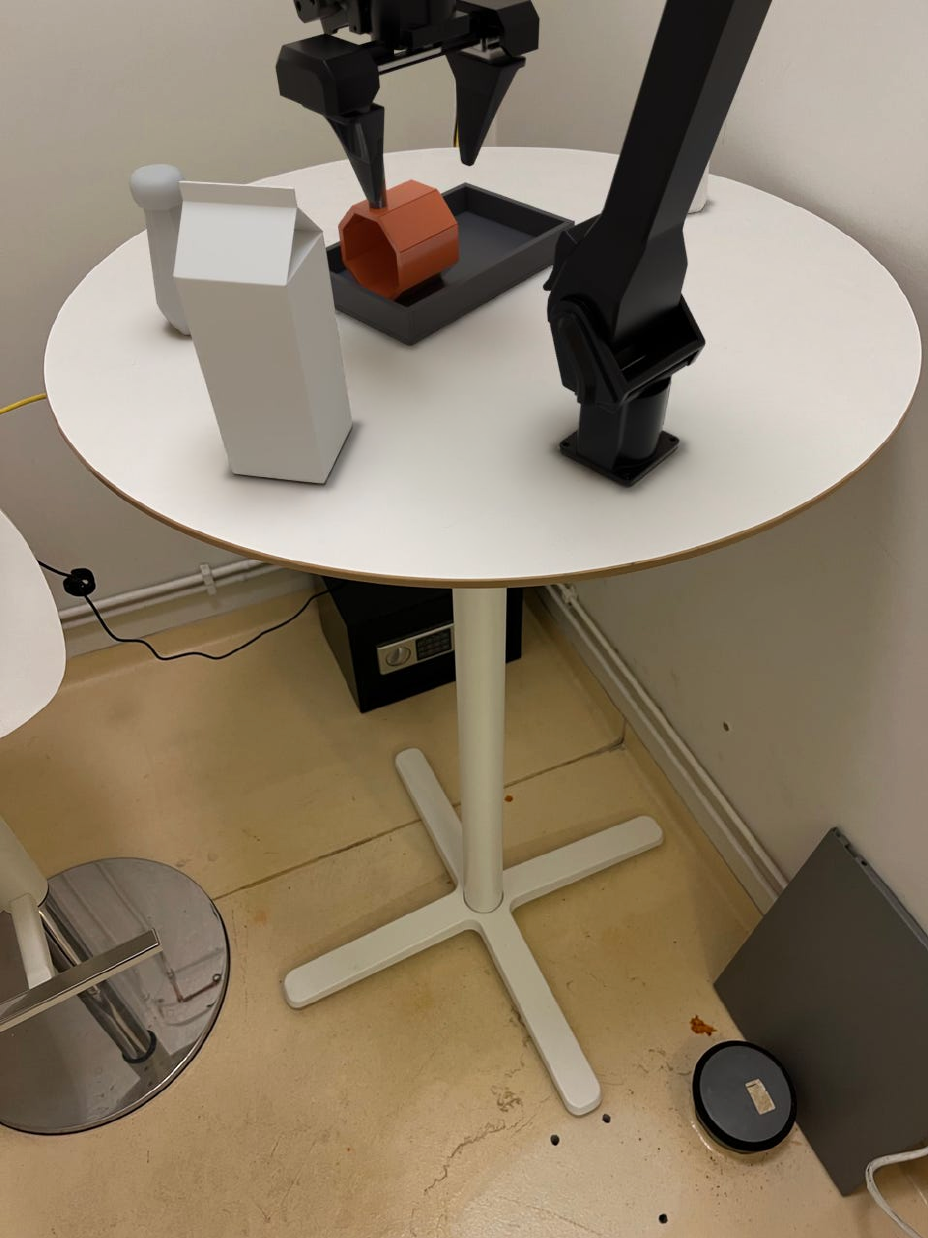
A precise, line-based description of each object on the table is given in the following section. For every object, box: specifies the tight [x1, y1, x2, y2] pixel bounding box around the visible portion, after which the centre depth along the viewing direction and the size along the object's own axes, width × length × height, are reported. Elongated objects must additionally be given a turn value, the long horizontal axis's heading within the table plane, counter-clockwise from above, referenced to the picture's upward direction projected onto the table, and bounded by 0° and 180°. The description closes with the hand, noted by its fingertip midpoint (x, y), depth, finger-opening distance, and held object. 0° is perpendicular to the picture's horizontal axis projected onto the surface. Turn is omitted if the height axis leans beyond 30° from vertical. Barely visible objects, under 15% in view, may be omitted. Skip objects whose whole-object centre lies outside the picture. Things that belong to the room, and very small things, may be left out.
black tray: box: [325, 181, 576, 346], centre depth 79 cm, size 22×14×3 cm, turn 137°
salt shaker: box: [128, 163, 191, 336], centre depth 71 cm, size 6×6×13 cm
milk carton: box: [173, 180, 353, 484], centre depth 56 cm, size 7×7×19 cm
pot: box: [337, 158, 459, 302], centre depth 73 cm, size 13×8×7 cm
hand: (421, 182), depth 63 cm, fingers open, 9 cm apart
